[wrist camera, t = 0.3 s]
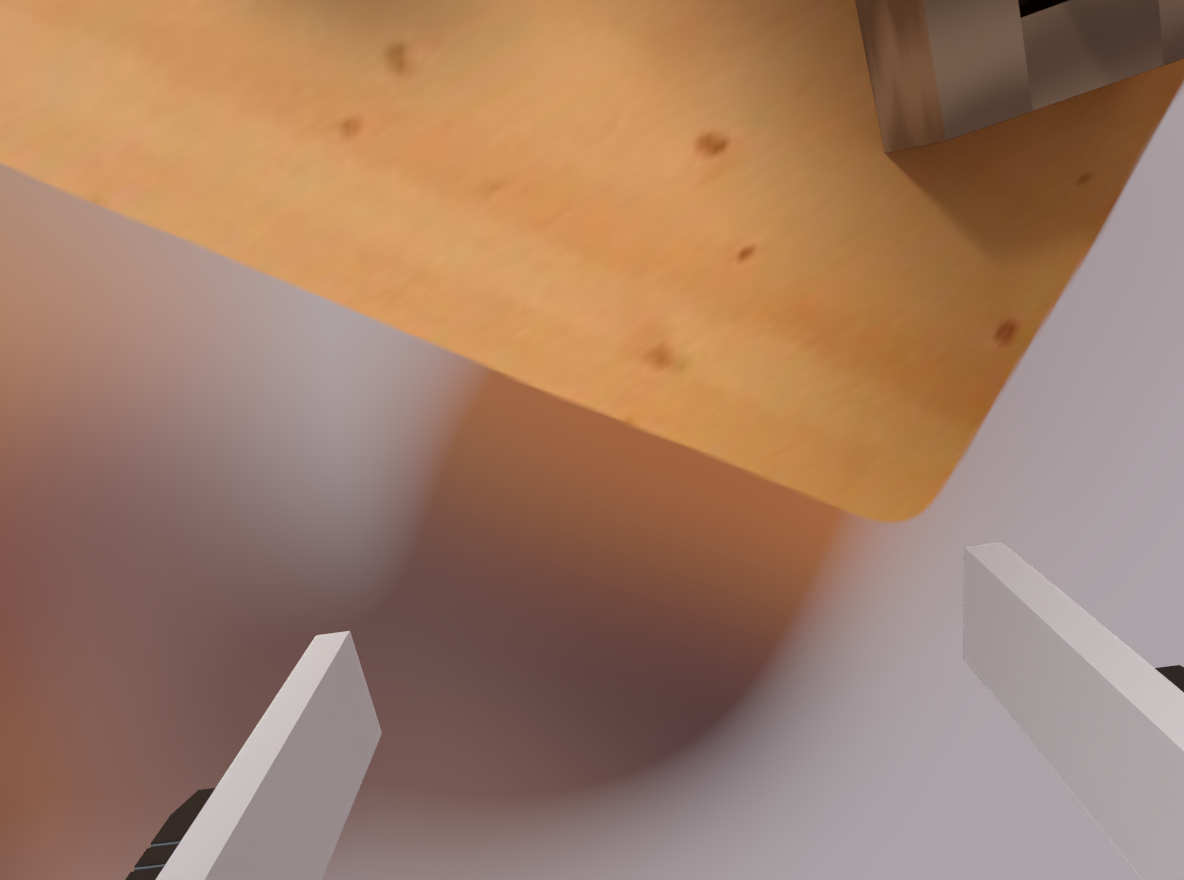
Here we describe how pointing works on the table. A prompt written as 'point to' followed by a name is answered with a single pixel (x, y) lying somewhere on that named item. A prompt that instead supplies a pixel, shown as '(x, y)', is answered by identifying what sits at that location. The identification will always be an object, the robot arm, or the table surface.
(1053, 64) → the hitch block
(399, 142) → the table surface
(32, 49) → the table surface
